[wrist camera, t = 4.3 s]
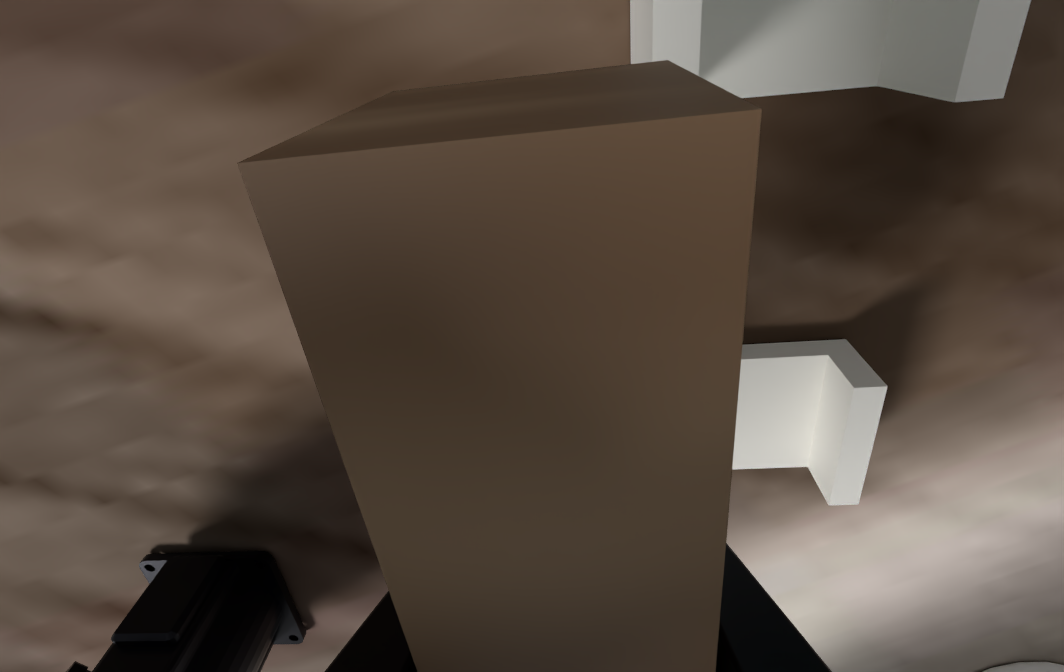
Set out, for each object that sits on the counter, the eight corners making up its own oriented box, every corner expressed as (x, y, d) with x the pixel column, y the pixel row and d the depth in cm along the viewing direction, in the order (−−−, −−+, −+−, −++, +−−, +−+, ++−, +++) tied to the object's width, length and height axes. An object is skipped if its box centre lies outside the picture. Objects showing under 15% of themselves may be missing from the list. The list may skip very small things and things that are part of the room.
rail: (663, 695, 14) (694, 924, 10) (520, 696, 14) (504, 917, 11) (667, 60, 7) (761, 109, 4) (393, 90, 7) (237, 163, 4)
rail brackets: (824, 448, 23) (902, 577, 18) (633, 455, 23) (654, 582, 18) (957, -228, 13) (1218, -392, 8) (628, -185, 14) (669, -309, 9)
